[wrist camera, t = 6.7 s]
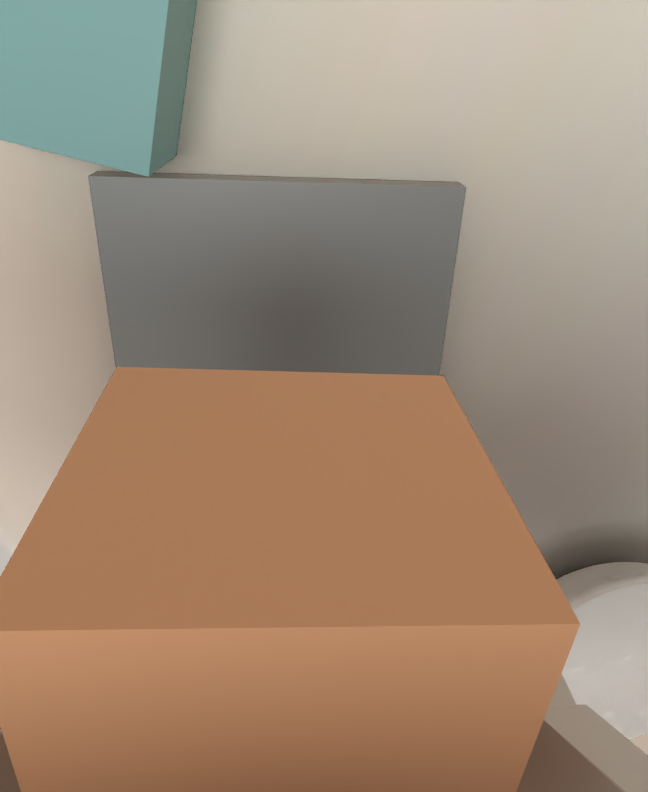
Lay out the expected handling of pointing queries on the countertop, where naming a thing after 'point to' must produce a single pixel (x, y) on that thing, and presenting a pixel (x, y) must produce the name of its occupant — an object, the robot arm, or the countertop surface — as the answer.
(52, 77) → the teal brick
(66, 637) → the terracotta brick
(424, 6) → the countertop surface
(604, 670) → the spoon rest
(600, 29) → the countertop surface
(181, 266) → the grey baseplate
